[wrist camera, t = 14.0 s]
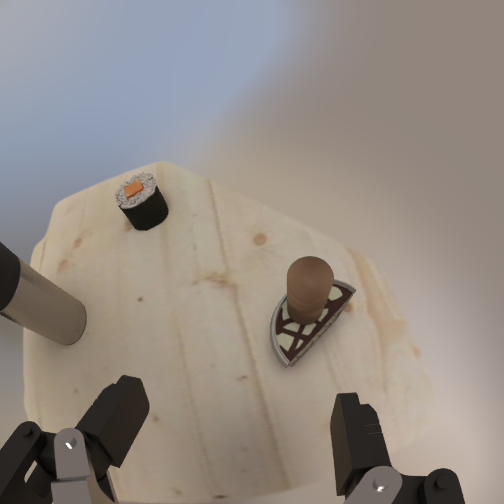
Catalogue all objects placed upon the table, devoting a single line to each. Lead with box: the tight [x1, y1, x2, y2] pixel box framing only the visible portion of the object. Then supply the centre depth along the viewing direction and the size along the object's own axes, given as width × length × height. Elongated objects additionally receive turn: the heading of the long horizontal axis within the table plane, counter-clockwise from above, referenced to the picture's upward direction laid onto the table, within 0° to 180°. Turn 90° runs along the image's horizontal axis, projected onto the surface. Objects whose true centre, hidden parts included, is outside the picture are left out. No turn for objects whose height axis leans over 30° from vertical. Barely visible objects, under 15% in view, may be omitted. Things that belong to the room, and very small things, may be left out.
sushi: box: [115, 172, 168, 230], centre depth 49 cm, size 8×8×8 cm
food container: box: [270, 279, 356, 368], centre depth 35 cm, size 12×6×10 cm, turn 134°
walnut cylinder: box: [287, 256, 334, 325], centre depth 27 cm, size 4×4×8 cm
